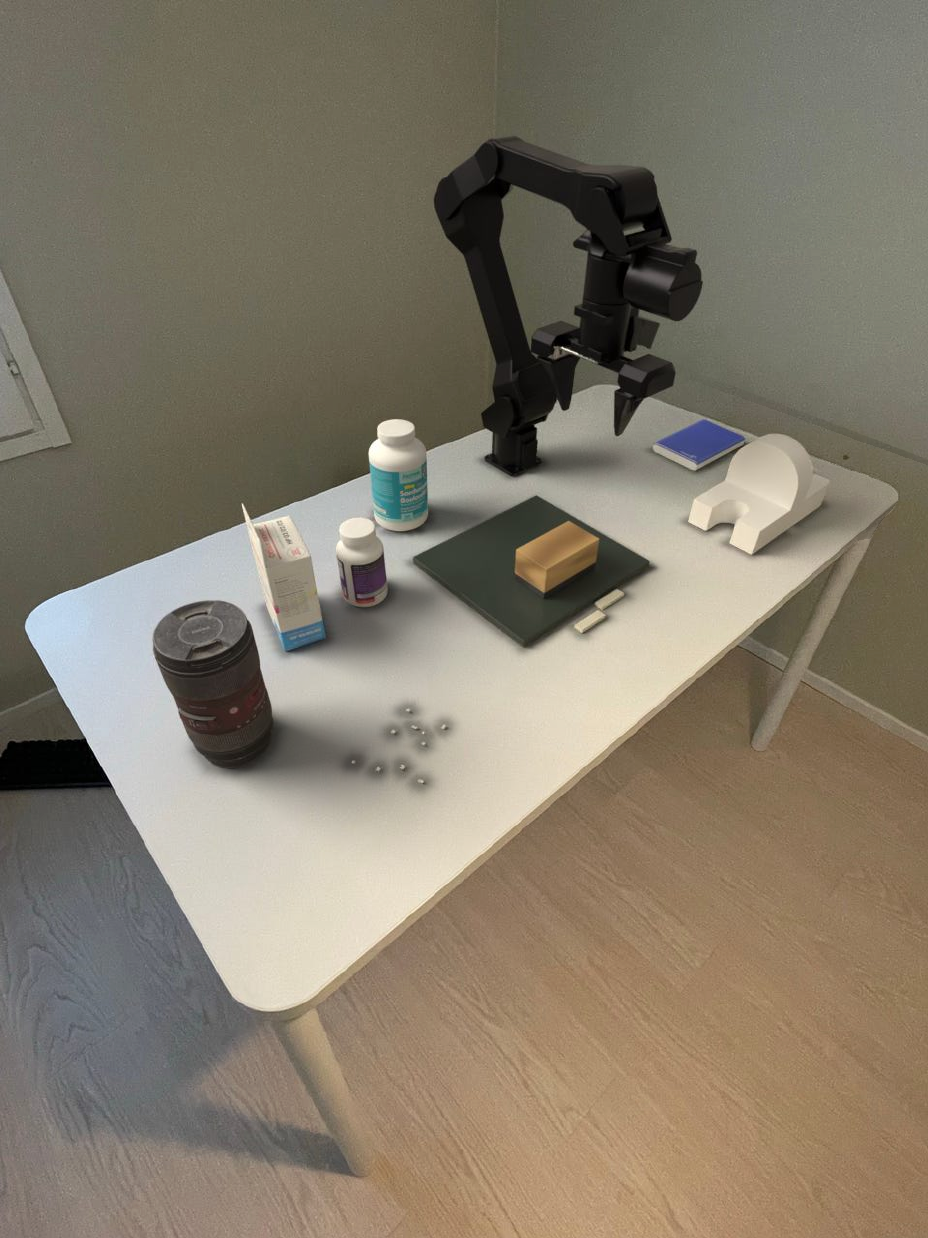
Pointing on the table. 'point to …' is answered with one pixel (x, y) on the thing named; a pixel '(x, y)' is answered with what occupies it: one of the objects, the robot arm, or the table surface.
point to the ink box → (287, 580)
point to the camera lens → (216, 680)
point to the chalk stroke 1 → (590, 621)
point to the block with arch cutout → (762, 492)
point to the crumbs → (422, 744)
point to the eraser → (556, 559)
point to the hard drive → (698, 444)
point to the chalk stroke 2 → (609, 599)
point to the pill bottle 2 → (398, 476)
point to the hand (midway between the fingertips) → (591, 421)
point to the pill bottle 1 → (361, 563)
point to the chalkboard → (487, 570)
